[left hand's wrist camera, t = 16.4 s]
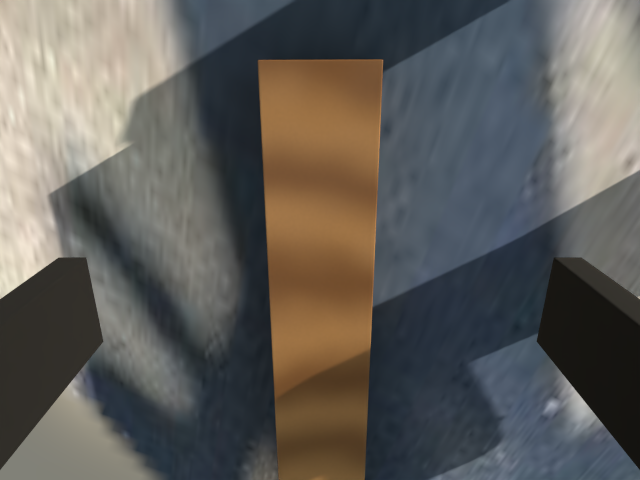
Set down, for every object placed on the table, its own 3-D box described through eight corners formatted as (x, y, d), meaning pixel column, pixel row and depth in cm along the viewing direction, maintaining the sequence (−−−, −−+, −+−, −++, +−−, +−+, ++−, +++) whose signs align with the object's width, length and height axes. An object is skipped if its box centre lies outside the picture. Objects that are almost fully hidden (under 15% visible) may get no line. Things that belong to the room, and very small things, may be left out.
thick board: (267, 61, 38) (257, 59, 32) (373, 61, 38) (383, 59, 32) (287, 517, 58) (283, 571, 52) (356, 517, 58) (360, 571, 52)
